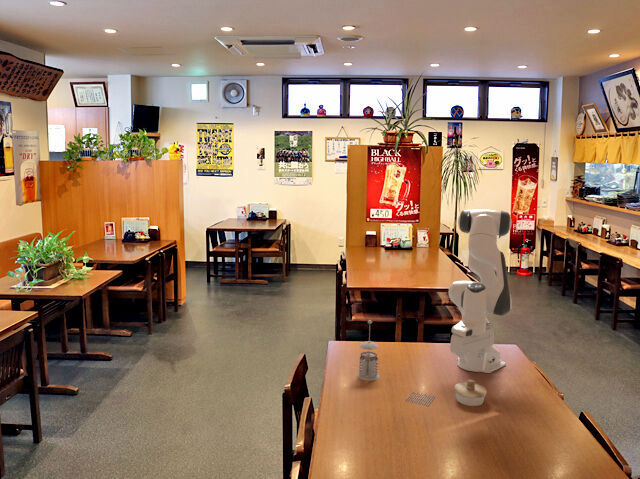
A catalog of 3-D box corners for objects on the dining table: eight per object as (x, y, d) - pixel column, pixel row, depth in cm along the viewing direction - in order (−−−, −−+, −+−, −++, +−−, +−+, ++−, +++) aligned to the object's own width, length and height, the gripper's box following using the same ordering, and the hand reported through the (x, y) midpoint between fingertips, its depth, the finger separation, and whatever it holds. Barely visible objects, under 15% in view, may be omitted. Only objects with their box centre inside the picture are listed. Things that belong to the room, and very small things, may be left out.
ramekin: (449, 403, 217) (449, 390, 216) (463, 394, 225) (464, 382, 224) (475, 413, 209) (476, 399, 208) (489, 403, 217) (490, 390, 216)
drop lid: (469, 382, 224) (470, 373, 224) (493, 393, 214) (494, 383, 214) (447, 388, 218) (448, 378, 218) (470, 400, 208) (471, 390, 208)
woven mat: (402, 406, 215) (403, 401, 215) (412, 395, 224) (412, 390, 224) (429, 412, 210) (429, 407, 210) (437, 401, 219) (437, 396, 219)
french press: (380, 372, 246) (382, 317, 242) (378, 383, 234) (380, 325, 230) (358, 370, 247) (359, 315, 243) (355, 381, 236) (356, 324, 232)
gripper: (486, 319, 220) (484, 352, 223) (448, 328, 210) (446, 363, 212) (499, 324, 215) (497, 357, 218) (460, 334, 204) (458, 369, 207)
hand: (471, 360), depth 215 cm, fingers open, 8 cm apart
